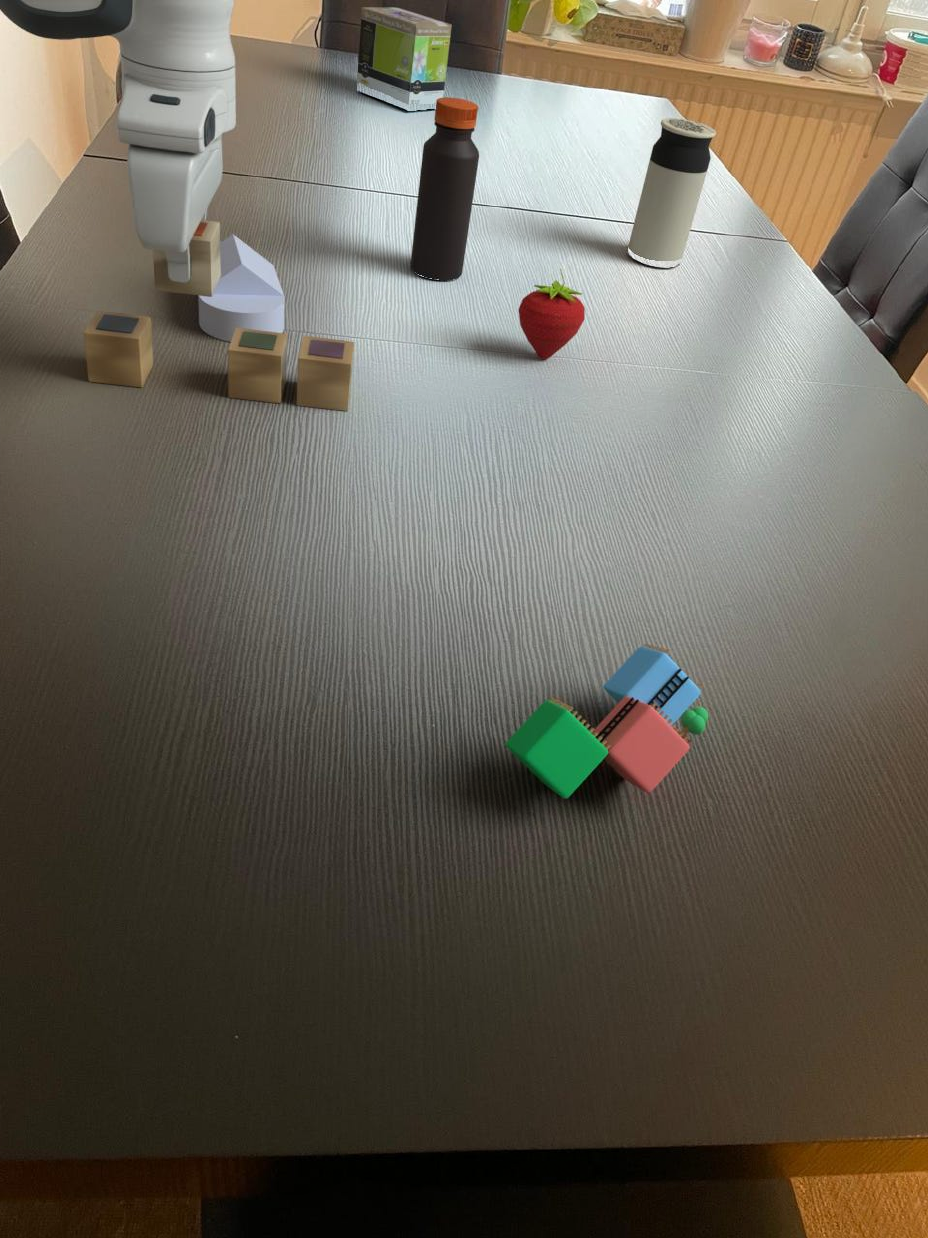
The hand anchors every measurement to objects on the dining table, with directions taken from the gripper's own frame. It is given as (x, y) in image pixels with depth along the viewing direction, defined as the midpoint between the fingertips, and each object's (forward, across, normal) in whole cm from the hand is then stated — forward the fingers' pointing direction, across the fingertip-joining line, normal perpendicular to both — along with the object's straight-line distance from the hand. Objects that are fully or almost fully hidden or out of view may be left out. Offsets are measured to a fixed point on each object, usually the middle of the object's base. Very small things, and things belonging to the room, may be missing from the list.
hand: (187, 265), depth 89 cm
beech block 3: (+12, 0, +13) cm, 17 cm away
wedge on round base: (+12, -16, +2) cm, 20 cm away
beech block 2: (+11, 0, +6) cm, 13 cm away
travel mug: (+12, -53, +56) cm, 78 cm away
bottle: (+12, -37, +24) cm, 46 cm away
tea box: (+12, -124, +18) cm, 126 cm away
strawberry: (+12, -15, +36) cm, 41 cm away
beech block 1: (+11, 0, -7) cm, 13 cm away
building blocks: (+12, +45, +34) cm, 58 cm away
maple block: (+2, 0, 0) cm, 2 cm away
